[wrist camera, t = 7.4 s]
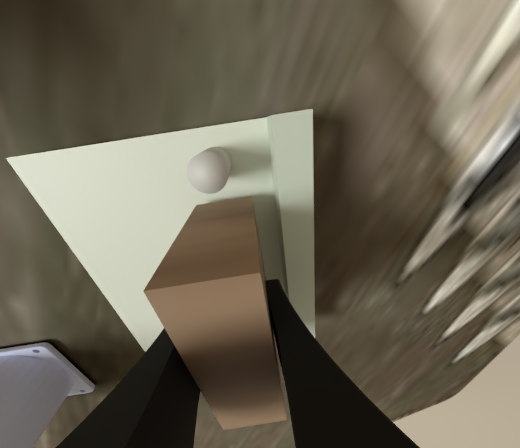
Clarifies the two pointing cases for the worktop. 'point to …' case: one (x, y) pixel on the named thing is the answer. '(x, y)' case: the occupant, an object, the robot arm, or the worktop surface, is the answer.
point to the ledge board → (180, 204)
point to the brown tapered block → (222, 312)
